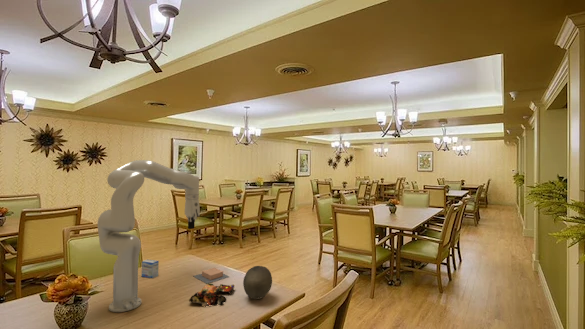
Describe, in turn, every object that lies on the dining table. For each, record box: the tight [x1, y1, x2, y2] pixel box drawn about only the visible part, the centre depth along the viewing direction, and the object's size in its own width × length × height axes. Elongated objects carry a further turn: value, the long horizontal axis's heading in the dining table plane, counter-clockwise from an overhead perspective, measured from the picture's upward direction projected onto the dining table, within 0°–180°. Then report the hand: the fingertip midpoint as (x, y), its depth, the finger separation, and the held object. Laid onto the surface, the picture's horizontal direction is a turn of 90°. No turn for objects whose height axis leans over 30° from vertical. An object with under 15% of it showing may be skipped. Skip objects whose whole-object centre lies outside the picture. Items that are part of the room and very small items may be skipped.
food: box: [188, 283, 235, 308], centre depth 140 cm, size 22×19×4 cm
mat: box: [193, 273, 230, 285], centre depth 165 cm, size 15×14×1 cm
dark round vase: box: [242, 265, 273, 300], centre depth 139 cm, size 14×14×15 cm
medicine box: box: [141, 259, 160, 279], centre depth 164 cm, size 8×4×9 cm, turn 73°
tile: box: [201, 267, 224, 280], centre depth 165 cm, size 3×8×9 cm
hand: (191, 228), depth 171 cm, fingers closed
